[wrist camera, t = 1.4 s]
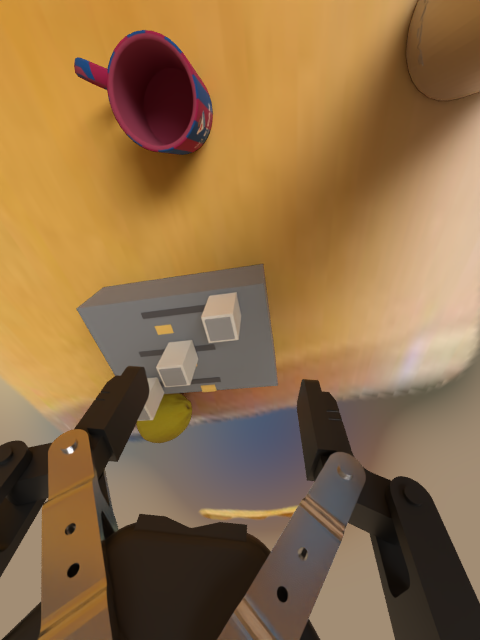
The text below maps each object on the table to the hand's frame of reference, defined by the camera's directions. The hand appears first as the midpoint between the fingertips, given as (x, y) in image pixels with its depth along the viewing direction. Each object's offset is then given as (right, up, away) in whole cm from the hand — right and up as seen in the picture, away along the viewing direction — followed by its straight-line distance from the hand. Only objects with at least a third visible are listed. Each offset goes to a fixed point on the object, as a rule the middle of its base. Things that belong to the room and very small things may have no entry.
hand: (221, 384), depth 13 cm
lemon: (-11, -11, +33) cm, 36 cm away
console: (-6, +3, +24) cm, 25 cm away
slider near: (-1, +5, +15) cm, 16 cm away
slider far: (-12, -6, +22) cm, 26 cm away
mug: (-6, +24, +11) cm, 27 cm away
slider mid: (-6, 0, +19) cm, 20 cm away
